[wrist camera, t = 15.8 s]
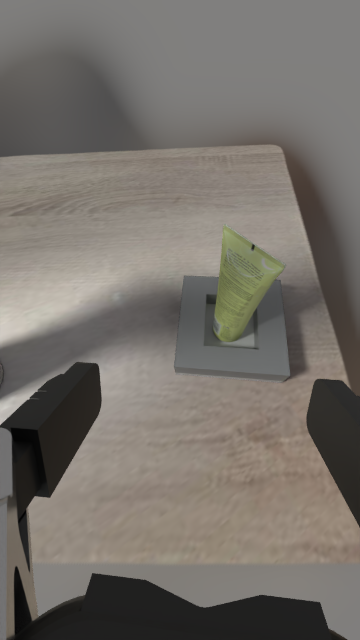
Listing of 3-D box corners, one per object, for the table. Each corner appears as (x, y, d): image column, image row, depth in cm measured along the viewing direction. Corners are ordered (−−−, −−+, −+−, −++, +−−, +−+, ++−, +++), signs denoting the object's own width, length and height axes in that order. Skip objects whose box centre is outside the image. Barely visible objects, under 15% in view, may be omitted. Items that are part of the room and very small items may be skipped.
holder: (175, 374, 40) (174, 366, 36) (184, 288, 47) (183, 275, 43) (281, 382, 38) (290, 375, 35) (273, 293, 46) (280, 280, 42)
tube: (246, 316, 43) (281, 224, 25) (247, 344, 40) (286, 264, 23) (212, 314, 43) (223, 223, 26) (211, 342, 41) (223, 262, 23)
